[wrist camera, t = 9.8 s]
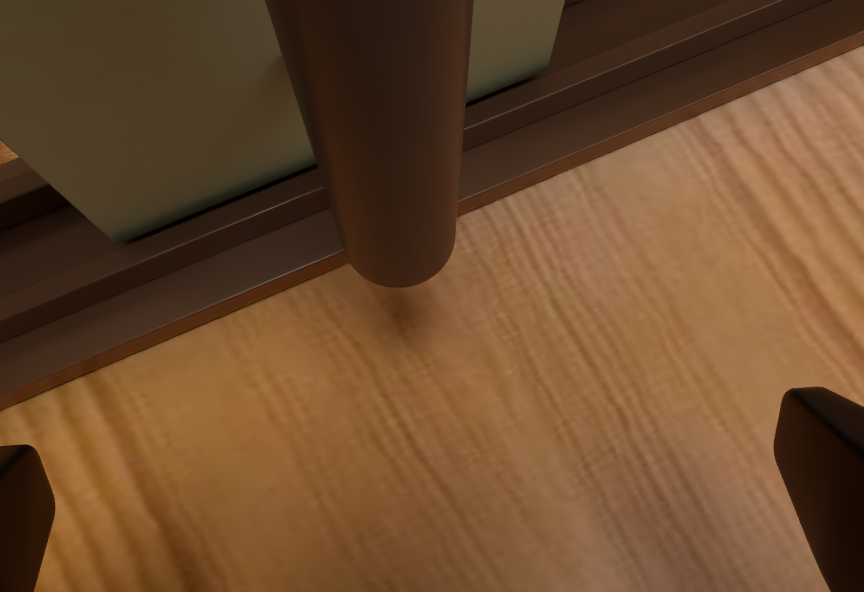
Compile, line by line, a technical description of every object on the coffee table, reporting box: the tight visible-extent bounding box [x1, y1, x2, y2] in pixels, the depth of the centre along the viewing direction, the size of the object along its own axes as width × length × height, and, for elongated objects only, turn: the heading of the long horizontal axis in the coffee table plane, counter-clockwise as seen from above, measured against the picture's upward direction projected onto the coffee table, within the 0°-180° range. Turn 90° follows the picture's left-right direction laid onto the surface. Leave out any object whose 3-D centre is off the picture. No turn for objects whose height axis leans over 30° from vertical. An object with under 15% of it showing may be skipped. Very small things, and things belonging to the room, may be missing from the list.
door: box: [0, 0, 565, 288], centre depth 11 cm, size 6×10×12 cm, turn 114°
